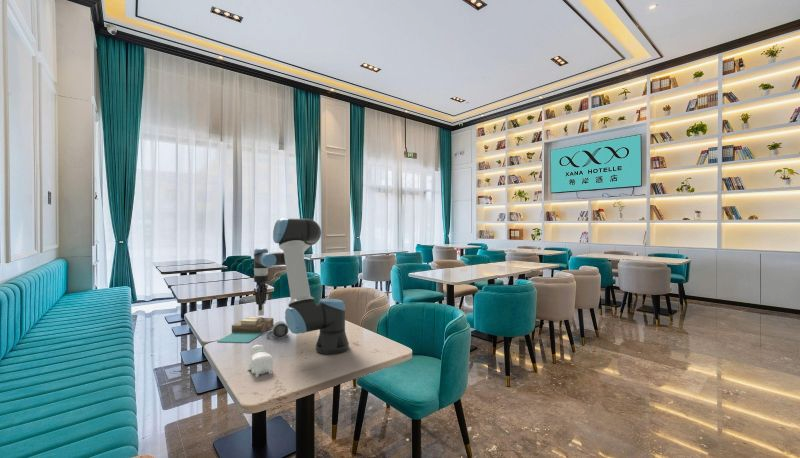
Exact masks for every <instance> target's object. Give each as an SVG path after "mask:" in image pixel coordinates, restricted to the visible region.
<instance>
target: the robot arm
mask: <svg viewBox="0 0 800 458" xmlns="http://www.w3.org/2000/svg"><path fill="white" fill-rule="evenodd" d="M321 236H322V230H321V227H320V224H318V222H316V221H315V220H313V219H310V218H288V217H286V218H279V219H277V220H276V222H275V223H274V226H273V231H272V239H273V242H274V243H275V244H278V247H279V249H280V250H282V251H283V252H281V251H279V252H269V249H268V248H265V247H264V248H262V247H260V248H259V247H258V248H255V249H254V252H253V271H254V272H253V273H254V276H253V282H254V283H256V284H255V288H253V292H254V297H255V298H254V299H255V304H256V305H258V306H257V307H258V308H257V311H258V312H257V313H258V314H257V315H258V316H257V317H262V316H264V315H265V304H266V303H267V296H268V295H267V294H268V293H267V291H268V287H269V285H268V284H267V282H268V281H269V275H268V274H269V268H271V267H279V266H285V269H286V277H287V281H288V289H289V296H290V301H289V303H288V304H287V305H288V307H287V308H286V309H285V311H284V314H285V315H284V319H285V323H286V324H287V326H288V331H290V332H291V333H292V334H296V335H298V334H306V333H308V332H309V333H310V332H313V331H318V330H319V334H318V337H317V340H316V344H315V352H317V353H319V354H321V355H338V354H343V353H345V352H347V351H348V350H349V348H350V345H349V344H350V343H349V340H348V337H347V334H346V303H345V301H344V300H341V299H336V298H328V297H327V298H321V299H320V300H319V302H318V303H316V299H315V298H314V297H313V296H312V295H311V290H310V289H311V288H310V284H309V280H308V273H307V268H306V267H307V266H306V262H305V256H304V253H305V252H306V251H307V250H308V249H309V248H310V247H311V246H313V245H315V244H317V243H318V242H319V241H320V239H321Z"/></svg>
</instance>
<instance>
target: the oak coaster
mask: <svg viewBox="0 0 800 458" xmlns="http://www.w3.org/2000/svg"><path fill="white" fill-rule="evenodd" d="M262 318H263V317H262V316H247V317H244V318H243V319H241V320H240V321H241V324H242V325H256V324H257V323H259V322H261V321H262Z"/></svg>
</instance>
